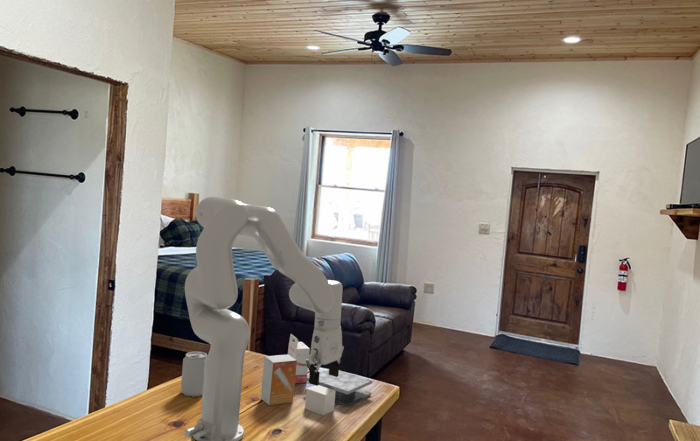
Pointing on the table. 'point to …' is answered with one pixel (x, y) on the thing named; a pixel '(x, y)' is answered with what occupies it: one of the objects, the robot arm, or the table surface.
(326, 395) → the block
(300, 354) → the ink cartridge box
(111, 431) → the table surface
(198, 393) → the can
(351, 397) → the stand
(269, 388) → the small box
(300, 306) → the robot arm
